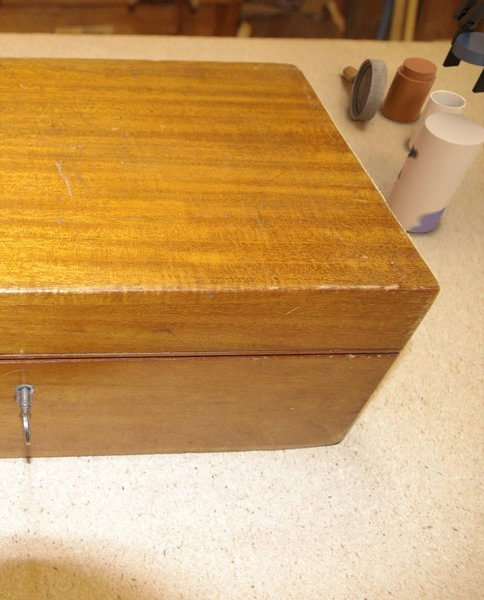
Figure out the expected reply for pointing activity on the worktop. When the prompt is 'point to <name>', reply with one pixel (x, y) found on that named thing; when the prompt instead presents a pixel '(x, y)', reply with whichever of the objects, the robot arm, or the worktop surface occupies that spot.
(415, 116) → the jar
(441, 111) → the mug
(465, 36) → the lid
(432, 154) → the container
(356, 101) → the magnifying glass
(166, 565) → the worktop surface
